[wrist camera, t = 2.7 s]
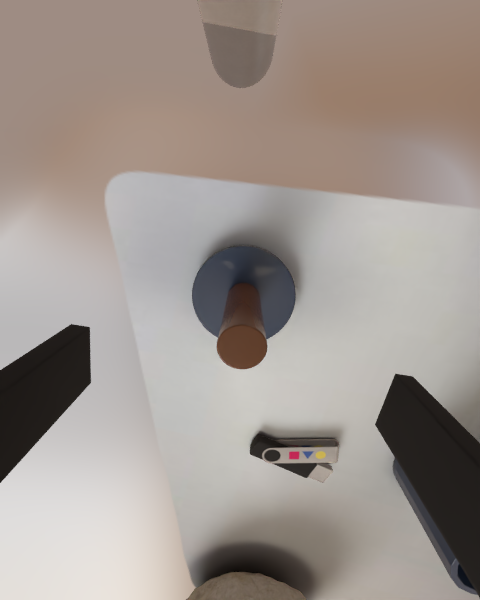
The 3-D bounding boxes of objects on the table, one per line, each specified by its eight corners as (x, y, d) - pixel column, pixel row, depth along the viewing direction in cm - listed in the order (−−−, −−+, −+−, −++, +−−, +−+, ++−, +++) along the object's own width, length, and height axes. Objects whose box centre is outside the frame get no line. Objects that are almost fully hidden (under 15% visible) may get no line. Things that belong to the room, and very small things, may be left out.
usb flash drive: (248, 447, 28) (247, 456, 27) (272, 410, 26) (274, 418, 25) (319, 477, 29) (322, 486, 28) (347, 443, 27) (351, 452, 26)
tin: (407, 430, 27) (477, 526, 19) (479, 441, 27) (579, 540, 19) (383, 483, 29) (435, 589, 21) (449, 493, 29) (526, 601, 21)
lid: (200, 236, 21) (167, 255, 12) (303, 253, 21) (342, 284, 13) (190, 330, 24) (157, 401, 15) (281, 344, 24) (301, 422, 15)
